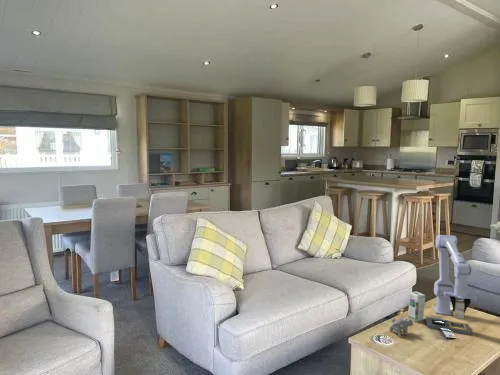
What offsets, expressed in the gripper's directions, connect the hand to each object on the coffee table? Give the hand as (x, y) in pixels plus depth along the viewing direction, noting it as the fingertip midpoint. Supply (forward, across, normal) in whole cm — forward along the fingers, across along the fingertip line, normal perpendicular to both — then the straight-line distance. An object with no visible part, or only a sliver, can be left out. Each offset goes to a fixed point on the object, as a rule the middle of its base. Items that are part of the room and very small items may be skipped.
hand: (458, 311), depth 196 cm
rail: (+9, -4, 0) cm, 10 cm away
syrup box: (+10, -20, +3) cm, 22 cm away
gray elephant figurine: (+10, -27, -16) cm, 33 cm away
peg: (+2, 0, 0) cm, 3 cm away
